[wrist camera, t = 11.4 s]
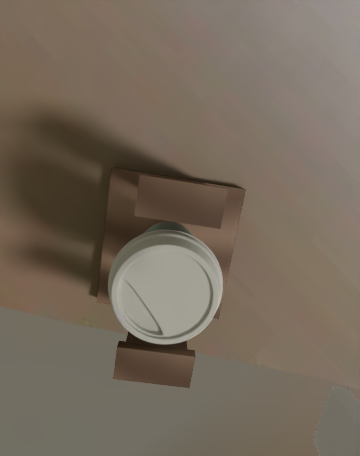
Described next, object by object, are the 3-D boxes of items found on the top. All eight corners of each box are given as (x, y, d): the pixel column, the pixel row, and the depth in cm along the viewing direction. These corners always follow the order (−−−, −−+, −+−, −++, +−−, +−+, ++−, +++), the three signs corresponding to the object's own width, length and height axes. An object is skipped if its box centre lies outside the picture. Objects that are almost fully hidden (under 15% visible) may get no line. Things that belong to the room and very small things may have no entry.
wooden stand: (113, 163, 31) (78, 164, 19) (244, 184, 32) (285, 198, 20) (98, 301, 34) (60, 372, 23) (216, 317, 35) (238, 393, 23)
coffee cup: (126, 207, 31) (99, 235, 19) (208, 208, 31) (230, 236, 19) (128, 283, 33) (105, 352, 21) (205, 284, 33) (224, 351, 21)
